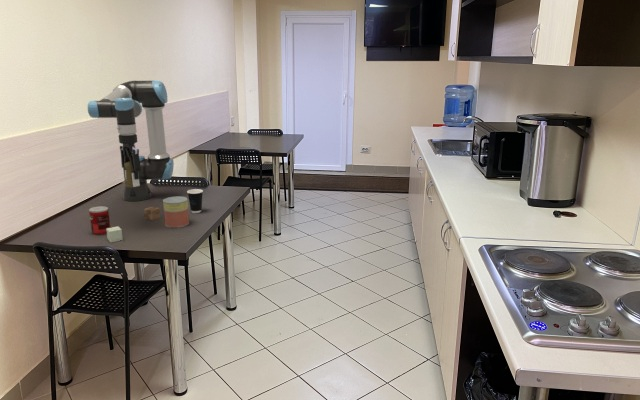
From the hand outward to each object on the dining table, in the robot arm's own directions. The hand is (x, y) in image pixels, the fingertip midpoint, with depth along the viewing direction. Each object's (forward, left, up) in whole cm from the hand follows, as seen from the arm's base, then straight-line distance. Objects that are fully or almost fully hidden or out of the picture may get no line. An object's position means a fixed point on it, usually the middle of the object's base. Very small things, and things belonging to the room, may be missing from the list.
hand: (132, 184), depth 216 cm
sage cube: (+8, -14, -21) cm, 26 cm away
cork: (0, 0, -1) cm, 1 cm away
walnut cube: (-8, +12, -21) cm, 25 cm away
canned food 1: (-6, -14, -21) cm, 26 cm away
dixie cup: (-2, +33, -21) cm, 39 cm away
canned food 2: (+8, +16, -21) cm, 27 cm away
